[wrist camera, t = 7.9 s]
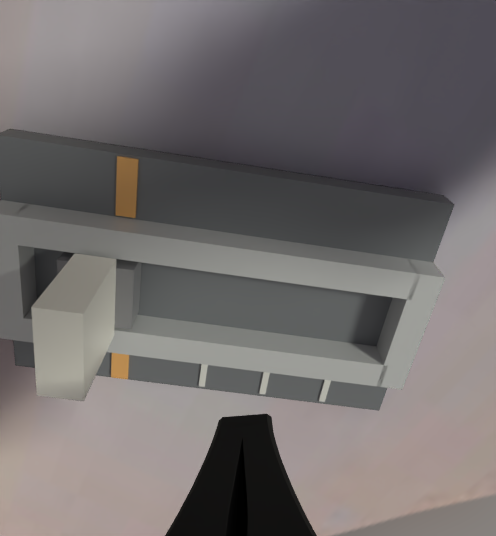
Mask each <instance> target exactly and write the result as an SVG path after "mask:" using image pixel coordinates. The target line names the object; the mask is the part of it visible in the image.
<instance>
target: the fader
mask: <svg viewBox="0 0 496 536" xmlns="http://www.w3.org/2000/svg"><path fill="white" fill-rule="evenodd" d="M141 266H142V262H135V261H128V260H121V259H113V258H106V257H99V256H92V255H85V254H77V253H70V252H63V253H62V255H61V256H60V257H59V258H58V259H57V276H56V277H55V278H54V280H53V281H52V282H51V283H50V285H49V286H48V287H47V288H46V290H45V291H44V292H43V293H42V295H41V296H40V297H39V298H38V300H37V301H36V302H35V303H34V304H33V306H32V307H31V311H32V327H33V343H34V358H35V374H36V390H37V396H43V397H51V398H60V399H68V400H76V401H84V400H85V398H86V395H87V393H88V391H89V389H90V387H91V385H92V382H93V380H94V378H95V376H96V374H97V371H98V369H99V367H100V365H101V363H102V361H103V358H104V356H105V354H106V352H107V350H108V347H109V345H110V343H111V341H112V339H113V337H114V327H117V328H124V329H132V326H133V324H134V321H135V319H136V316H137V314H138V312H139V301H140V283H141Z"/></svg>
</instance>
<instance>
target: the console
mask: <svg viewBox="0 0 496 536" xmlns="http://www.w3.org/2000/svg"><path fill="white" fill-rule="evenodd" d="M0 192H1V200H0V339H8V340H13V342H14V354H15V365H17V366H25V367H33V368H35V358H34V343H33V327H32V311H31V307H32V306H33V304H34V303H35V302H36V301H37V300H38V298H39V297H40V296H41V295H42V293H43V292H44V291H45V290H46V288H47V287H48V286H49V285H50V283H51V282H52V281H53V280H54V278H55V277H56V276H57V259H58V258H59V257H60V256H61V255H62V253H63V252H70V253H77V254H85V255H92V256H99V257H106V258H113V259H121V260H128V261H135V262H142V266H141V283H140V301H139V312H138V314H137V316H136V319H135V321H134V324H133V326H132V329H124V328H117V327H114V337H113V339H112V341H111V343H110V345H109V347H108V350H107V352H106V354H105V356H104V358H103V361H102V363H101V365H100V367H99V369H98V371H97V374H96V375H98V376H106V377H113V378H121V379H130V380H138V381H146V382H154V383H162V384H170V385H178V386H186V387H194V388H202V389H210V390H218V391H226V392H234V393H242V394H250V395H258V396H266V397H274V398H282V399H291V400H299V401H307V402H315V403H323V404H331V405H339V406H347V407H355V408H363V409H371V410H379V409H380V406H381V404H382V401H383V398H384V395H385V393H386V390H387V388H393V389H401V390H402V389H403V386H404V384H405V381H406V378H407V376H408V373H409V371H410V368H411V365H412V363H413V360H414V358H415V355H416V352H417V350H418V347H419V345H420V342H421V339H422V337H423V334H424V332H425V329H426V326H427V324H428V321H429V319H430V316H431V313H432V311H433V308H434V306H435V303H436V300H437V298H438V295H439V293H440V290H441V287H442V285H443V282H444V280H445V277H444V276H443V274H442V273H441V272H440V270H439V269H438V268H437V267H436V265H435V264H434V263H433V261H434V259H435V256H436V253H437V251H438V248H439V245H440V242H441V240H442V237H443V234H444V231H445V229H446V226H447V223H448V221H449V218H450V215H451V212H452V210H453V207H454V204H453V203H452V202H451V201H449V200H448V199H447V198H446V197H445V196H444V195H438V194H431V193H425V192H418V191H412V190H405V189H399V188H392V187H386V186H379V185H373V184H366V183H359V182H353V181H346V180H340V179H333V178H327V177H320V176H314V175H307V174H301V173H294V172H288V171H281V170H275V169H268V168H262V167H255V166H249V165H242V164H236V163H229V162H223V161H216V160H210V159H203V158H197V157H190V156H184V155H177V154H171V153H164V152H158V151H151V150H145V149H138V148H132V147H125V146H119V145H112V144H105V143H99V142H92V141H86V140H79V139H73V138H66V137H60V136H53V135H47V134H40V133H34V132H27V131H21V130H14V129H9V130H6V131H4V132H1V133H0Z"/></svg>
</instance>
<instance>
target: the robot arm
mask: <svg viewBox="0 0 496 536" xmlns="http://www.w3.org/2000/svg"><path fill="white" fill-rule="evenodd" d="M165 536H317V535H316V534H315V532H314V530H313V528H312V526H311V524H310V523H309V521H308V519H307V517H306V515H305V513H304V511H303V509H302V507H301V505H300V502H299V500H298V498H297V496H296V494H295V492H294V490H293V487H292V485H291V483H290V480H289V478H288V475H287V473H286V470H285V468H284V465H283V463H282V460H281V457H280V454H279V451H278V448H277V445H276V441H275V437H274V433H273V426H272V418H271V416H269V415H268V414H259V415H246V416H233V417H222V418H221V419H220V420H219V422H218V426H217V429H216V432H215V435H214V438H213V441H212V443H211V446H210V448H209V451H208V453H207V456H206V458H205V460H204V463H203V465H202V467H201V469H200V471H199V473H198V476H197V478H196V480H195V482H194V484H193V486H192V488H191V490H190V492H189V494H188V496H187V498H186V500H185V502H184V503H183V505H182V507H181V509H180V511H179V513H178V515H177V516H176V518H175V520H174V522H173V523H172V525H171V527H170V528H169V530H168V532H167V533H166V535H165Z"/></svg>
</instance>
